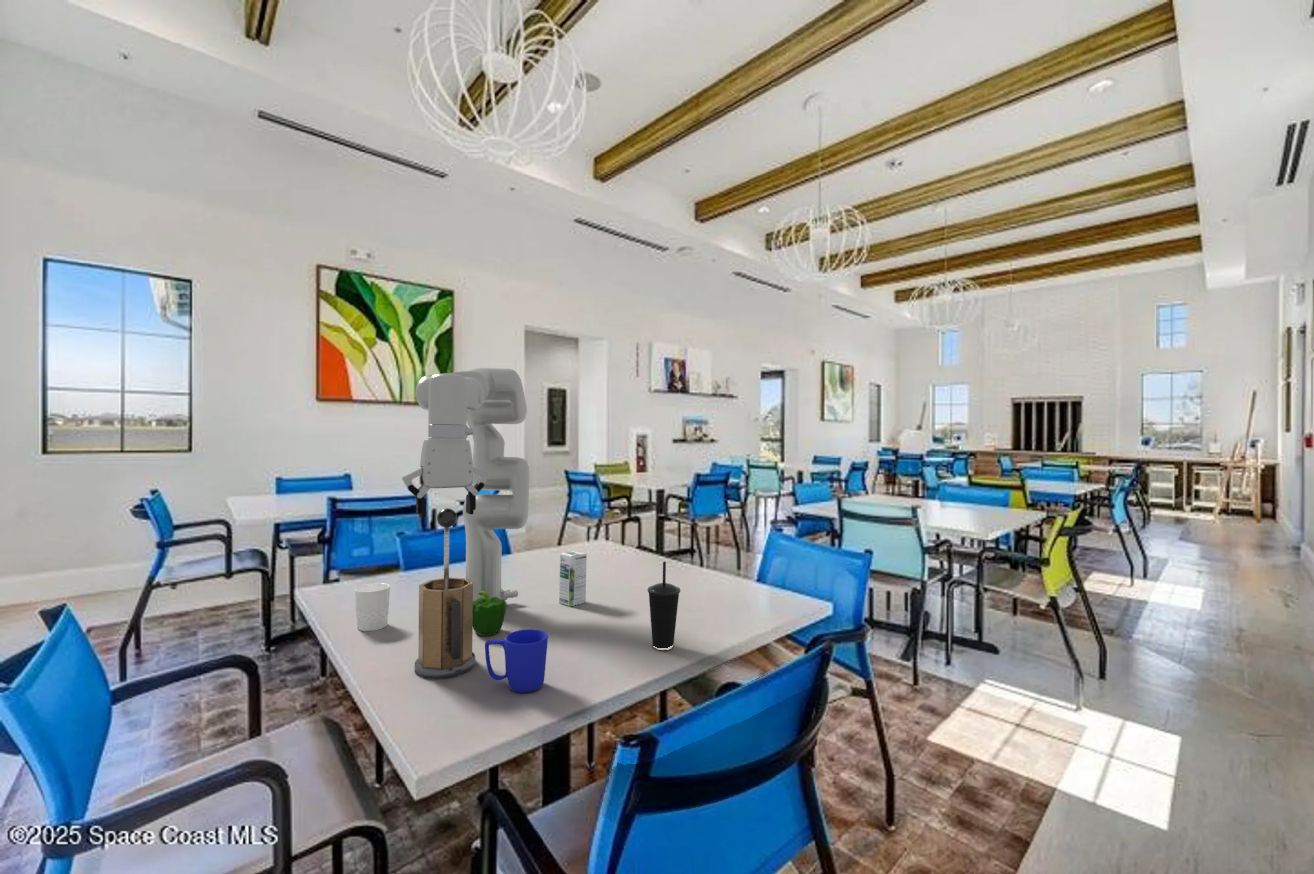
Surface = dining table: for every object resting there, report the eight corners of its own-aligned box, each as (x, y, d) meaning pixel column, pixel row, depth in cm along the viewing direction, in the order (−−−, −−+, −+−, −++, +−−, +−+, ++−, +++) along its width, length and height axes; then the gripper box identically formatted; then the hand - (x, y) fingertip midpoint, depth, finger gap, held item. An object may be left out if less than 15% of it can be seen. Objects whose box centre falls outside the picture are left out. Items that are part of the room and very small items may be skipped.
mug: (489, 678, 115) (489, 629, 115) (549, 677, 116) (550, 628, 116) (479, 697, 107) (480, 644, 107) (545, 696, 108) (545, 643, 108)
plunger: (459, 589, 125) (460, 505, 125) (469, 598, 119) (470, 509, 119) (422, 594, 121) (423, 507, 121) (431, 604, 115) (432, 512, 114)
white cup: (375, 633, 139) (375, 592, 138) (347, 630, 140) (347, 590, 140) (396, 622, 146) (396, 583, 146) (369, 620, 148) (369, 581, 148)
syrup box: (558, 603, 165) (558, 553, 164) (573, 598, 169) (574, 549, 169) (571, 607, 161) (571, 556, 161) (586, 602, 165) (587, 552, 165)
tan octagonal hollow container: (465, 651, 129) (466, 573, 128) (486, 673, 117) (487, 589, 117) (409, 662, 122) (409, 581, 122) (424, 688, 110) (425, 598, 110)
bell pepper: (511, 632, 141) (512, 592, 140) (480, 641, 135) (481, 599, 135) (494, 623, 147) (494, 585, 146) (464, 631, 141) (464, 591, 141)
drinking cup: (655, 655, 128) (657, 567, 127) (641, 644, 135) (642, 559, 134) (685, 650, 131) (686, 563, 131) (669, 638, 138) (670, 556, 138)
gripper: (482, 433, 127) (481, 510, 127) (399, 433, 117) (398, 515, 118) (494, 434, 121) (493, 514, 121) (407, 433, 111) (405, 520, 111)
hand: (446, 515), depth 119 cm, fingers open, 9 cm apart
